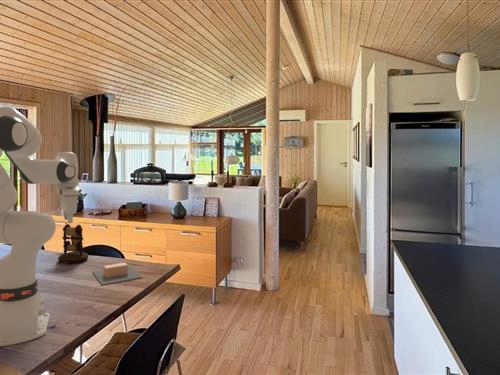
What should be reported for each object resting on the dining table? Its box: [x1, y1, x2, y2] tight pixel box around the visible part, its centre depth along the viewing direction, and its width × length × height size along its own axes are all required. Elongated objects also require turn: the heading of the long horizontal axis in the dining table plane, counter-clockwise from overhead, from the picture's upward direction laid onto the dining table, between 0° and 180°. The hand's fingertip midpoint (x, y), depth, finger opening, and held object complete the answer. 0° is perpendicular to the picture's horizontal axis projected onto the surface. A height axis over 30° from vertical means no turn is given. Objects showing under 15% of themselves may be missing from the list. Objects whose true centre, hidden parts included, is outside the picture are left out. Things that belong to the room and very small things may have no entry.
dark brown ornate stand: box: [57, 223, 89, 264], centre depth 192 cm, size 15×15×20 cm
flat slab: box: [92, 265, 143, 286], centre depth 171 cm, size 20×18×1 cm
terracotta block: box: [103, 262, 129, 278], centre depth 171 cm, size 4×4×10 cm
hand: (68, 221), depth 153 cm, fingers open, 8 cm apart
